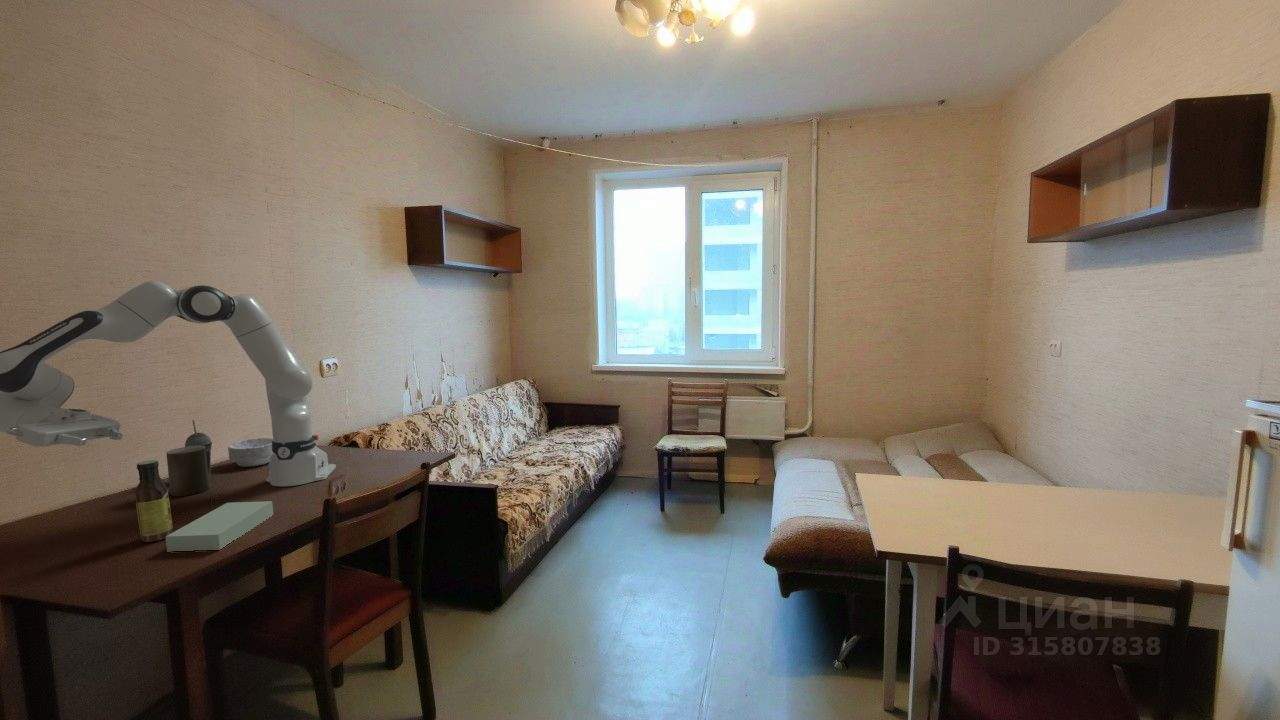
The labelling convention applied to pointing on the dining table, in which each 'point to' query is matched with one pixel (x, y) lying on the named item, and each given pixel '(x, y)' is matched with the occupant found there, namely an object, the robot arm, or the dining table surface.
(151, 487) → the sauce bottle
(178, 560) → the dining table surface
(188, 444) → the beverage cup
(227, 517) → the pale green rectangular block
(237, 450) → the paper bowls
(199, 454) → the pillar candle
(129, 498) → the dining table surface
